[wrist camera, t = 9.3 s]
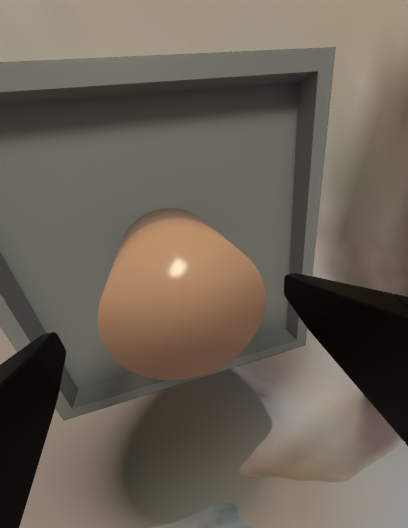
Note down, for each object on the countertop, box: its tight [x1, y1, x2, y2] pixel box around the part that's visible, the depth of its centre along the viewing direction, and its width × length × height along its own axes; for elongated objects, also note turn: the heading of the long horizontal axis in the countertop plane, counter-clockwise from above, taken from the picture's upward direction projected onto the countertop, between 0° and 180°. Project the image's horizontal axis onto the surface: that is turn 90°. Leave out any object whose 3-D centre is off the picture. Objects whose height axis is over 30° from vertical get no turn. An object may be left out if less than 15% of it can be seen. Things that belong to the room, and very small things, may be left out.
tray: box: [0, 47, 336, 420], centre depth 13 cm, size 18×18×2 cm
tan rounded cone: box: [98, 208, 266, 380], centre depth 10 cm, size 6×6×6 cm
